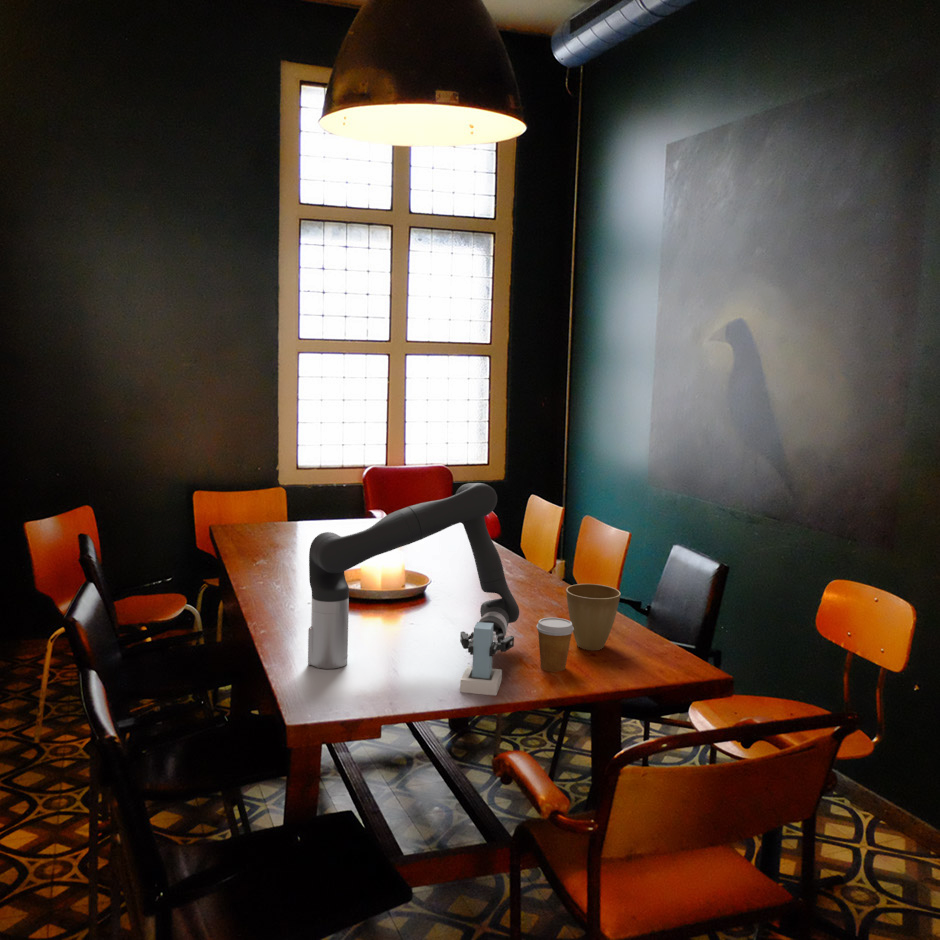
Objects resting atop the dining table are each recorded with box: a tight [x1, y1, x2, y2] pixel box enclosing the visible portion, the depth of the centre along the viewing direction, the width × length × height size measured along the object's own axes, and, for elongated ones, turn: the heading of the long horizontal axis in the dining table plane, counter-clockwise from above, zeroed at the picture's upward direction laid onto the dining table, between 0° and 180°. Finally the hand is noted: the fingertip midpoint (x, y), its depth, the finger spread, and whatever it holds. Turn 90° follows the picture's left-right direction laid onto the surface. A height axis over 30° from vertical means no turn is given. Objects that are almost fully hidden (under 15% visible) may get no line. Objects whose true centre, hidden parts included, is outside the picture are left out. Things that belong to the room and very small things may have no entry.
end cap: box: [459, 665, 503, 696], centre depth 209 cm, size 9×10×3 cm
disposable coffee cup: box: [536, 617, 574, 673], centre depth 224 cm, size 10×10×12 cm
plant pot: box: [565, 583, 621, 651], centre depth 242 cm, size 15×15×16 cm
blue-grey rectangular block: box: [472, 621, 494, 679], centre depth 208 cm, size 4×5×12 cm
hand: (481, 651), depth 206 cm, fingers closed on blue-grey rectangular block, 4 cm apart
